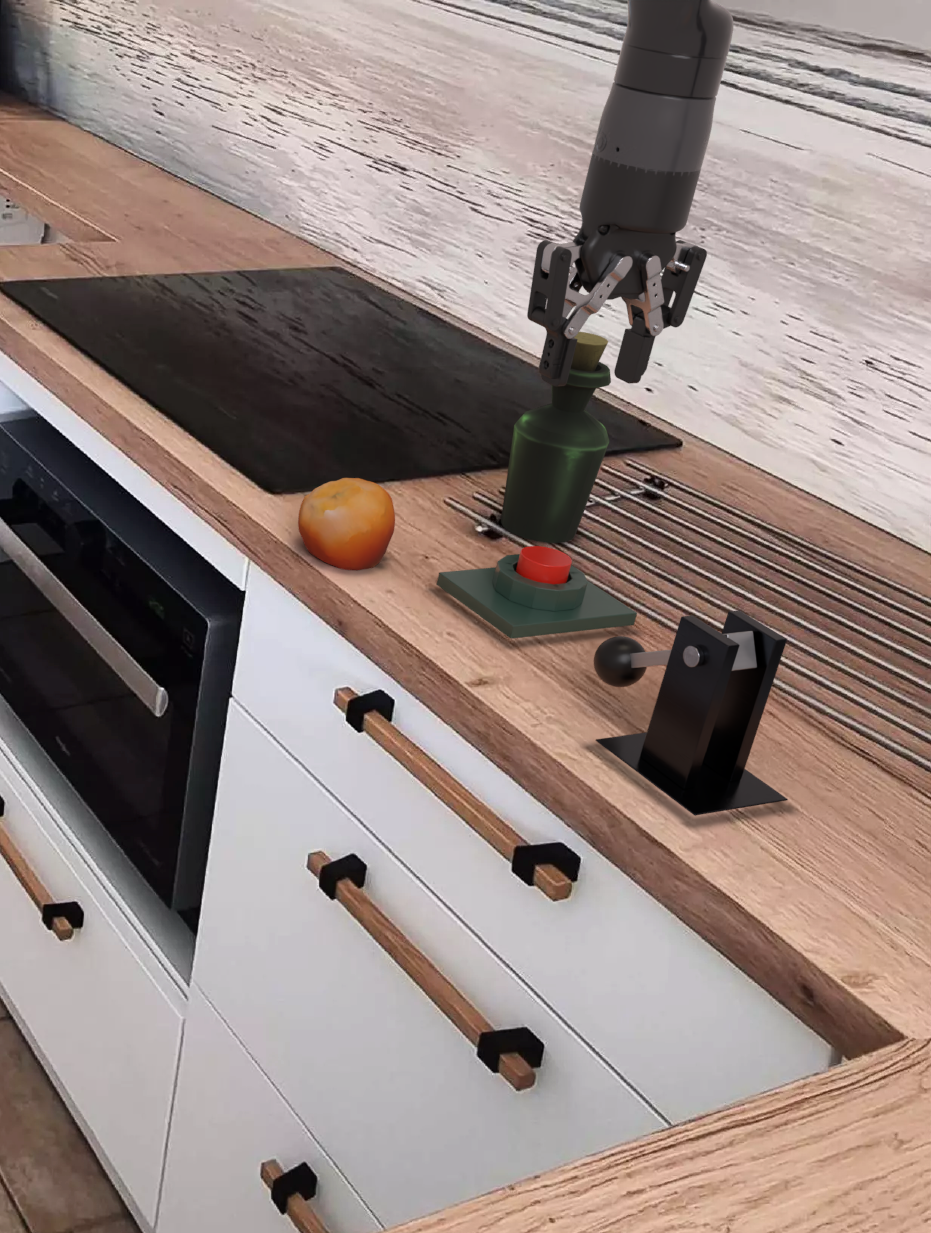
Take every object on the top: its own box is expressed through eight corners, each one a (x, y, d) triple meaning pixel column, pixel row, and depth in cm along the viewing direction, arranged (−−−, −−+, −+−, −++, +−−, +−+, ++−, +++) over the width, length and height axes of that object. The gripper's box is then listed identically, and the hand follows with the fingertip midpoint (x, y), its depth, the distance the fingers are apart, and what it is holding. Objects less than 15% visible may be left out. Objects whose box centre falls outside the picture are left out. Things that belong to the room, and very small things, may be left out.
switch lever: (585, 690, 126) (579, 640, 126) (625, 685, 128) (620, 635, 128) (724, 681, 114) (717, 625, 114) (766, 675, 115) (760, 620, 115)
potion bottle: (596, 535, 161) (648, 341, 152) (562, 559, 155) (613, 358, 146) (512, 508, 165) (558, 318, 156) (475, 530, 159) (521, 333, 150)
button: (545, 563, 144) (550, 543, 143) (577, 584, 140) (582, 564, 140) (505, 567, 142) (510, 547, 141) (536, 588, 139) (541, 568, 138)
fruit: (428, 554, 149) (405, 482, 144) (355, 609, 147) (330, 539, 142) (367, 518, 155) (343, 448, 150) (297, 570, 153) (271, 501, 148)
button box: (552, 585, 149) (563, 541, 147) (630, 637, 141) (643, 591, 139) (433, 596, 145) (443, 551, 143) (507, 651, 137) (519, 604, 135)
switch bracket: (590, 754, 123) (634, 599, 118) (680, 741, 126) (727, 590, 121) (689, 830, 115) (741, 668, 110) (783, 814, 118) (838, 656, 113)
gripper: (601, 166, 120) (543, 402, 128) (762, 168, 126) (698, 394, 134) (533, 141, 126) (482, 368, 134) (689, 145, 132) (632, 363, 140)
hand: (590, 380), depth 134 cm, fingers open, 6 cm apart
